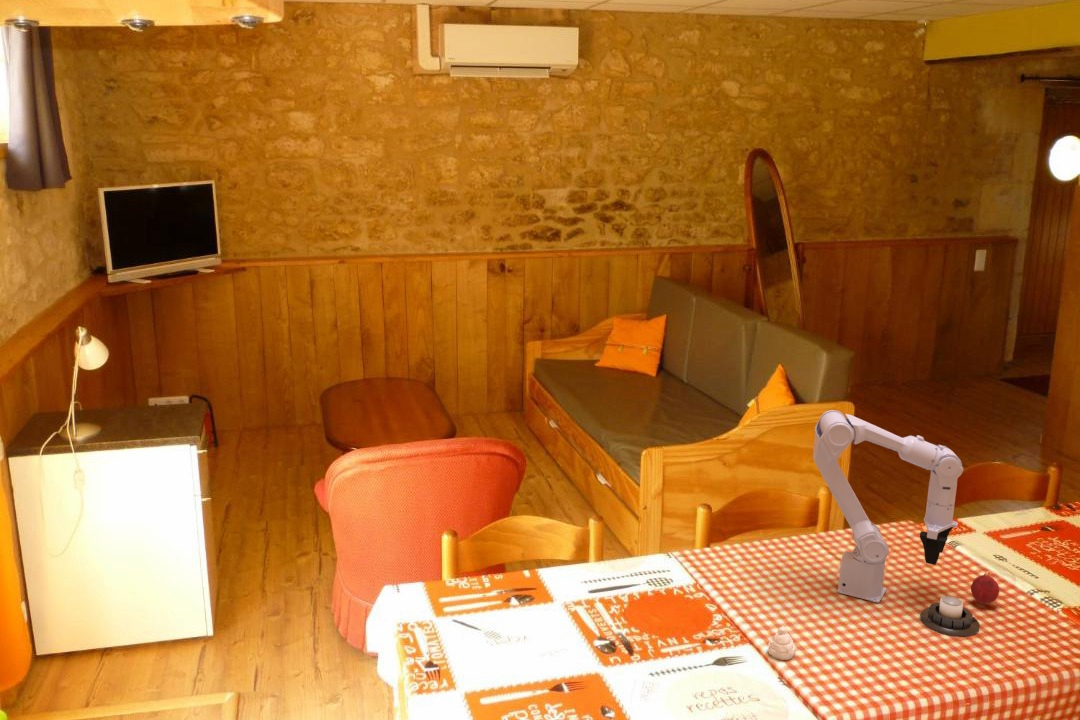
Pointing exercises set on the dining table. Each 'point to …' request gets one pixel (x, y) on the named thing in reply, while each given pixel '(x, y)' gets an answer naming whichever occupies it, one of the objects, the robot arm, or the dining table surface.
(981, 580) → the onion
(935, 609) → the ridged round lid
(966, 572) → the dining table surface
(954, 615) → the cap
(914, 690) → the dining table surface
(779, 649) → the swirled meringue
